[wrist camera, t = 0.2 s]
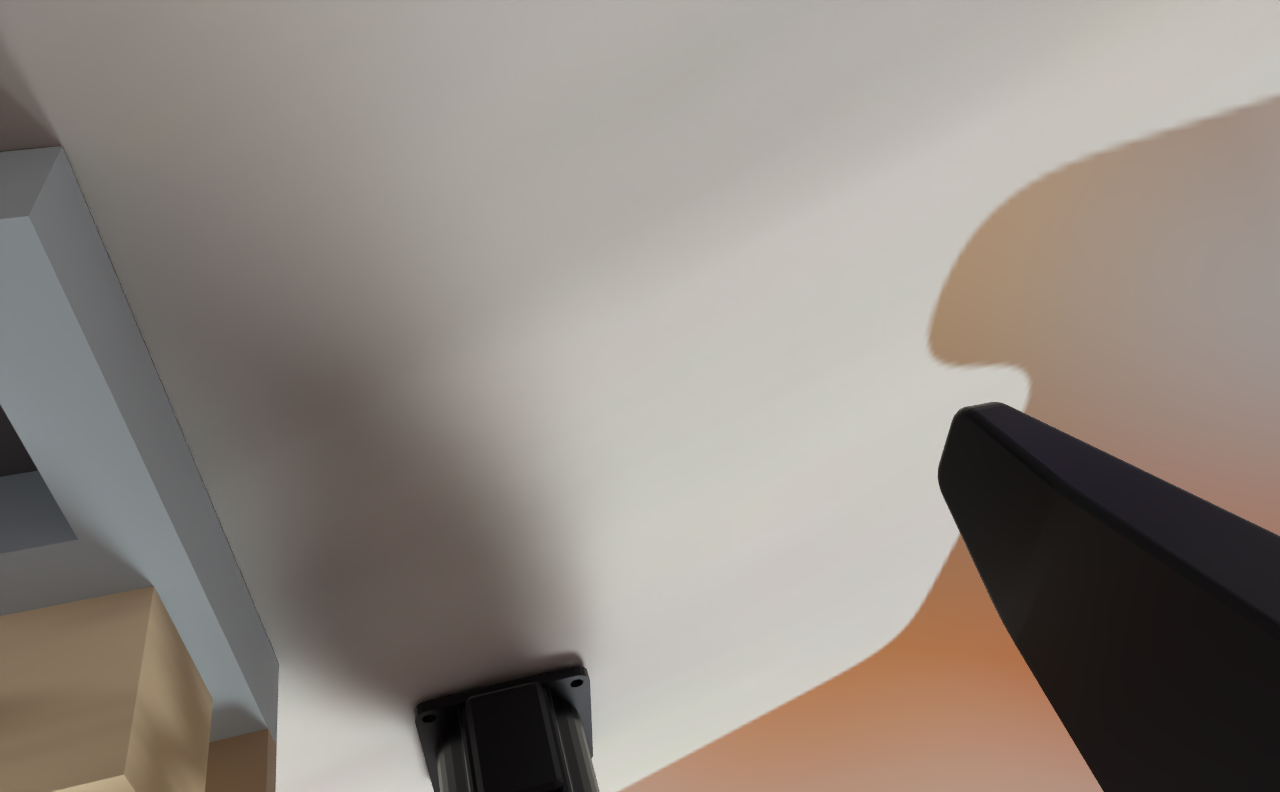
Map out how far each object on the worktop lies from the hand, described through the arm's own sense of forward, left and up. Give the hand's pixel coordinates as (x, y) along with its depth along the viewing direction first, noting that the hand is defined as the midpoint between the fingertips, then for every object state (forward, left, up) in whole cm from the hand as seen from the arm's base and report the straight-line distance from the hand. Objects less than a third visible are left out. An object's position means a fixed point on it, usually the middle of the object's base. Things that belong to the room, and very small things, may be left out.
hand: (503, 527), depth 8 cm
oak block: (-14, +10, -11) cm, 21 cm away
